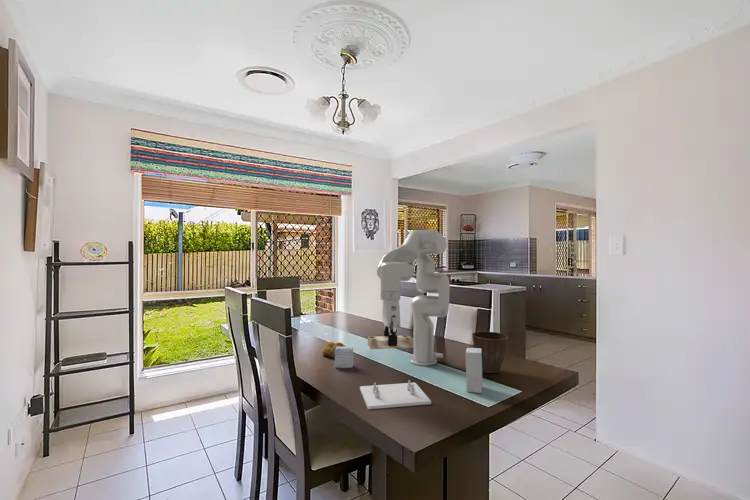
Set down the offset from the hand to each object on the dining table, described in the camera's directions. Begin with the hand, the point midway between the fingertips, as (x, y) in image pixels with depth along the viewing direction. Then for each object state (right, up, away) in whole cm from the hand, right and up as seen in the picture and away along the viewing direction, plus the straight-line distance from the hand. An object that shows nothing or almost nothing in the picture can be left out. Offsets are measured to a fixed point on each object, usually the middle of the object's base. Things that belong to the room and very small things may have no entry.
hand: (390, 342), depth 134 cm
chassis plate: (+1, -18, -5) cm, 19 cm away
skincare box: (+32, -18, +3) cm, 37 cm away
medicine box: (-20, -19, +29) cm, 40 cm away
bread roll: (-26, -19, +46) cm, 56 cm away
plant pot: (+45, -19, +22) cm, 53 cm away
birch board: (0, -1, 0) cm, 1 cm away
